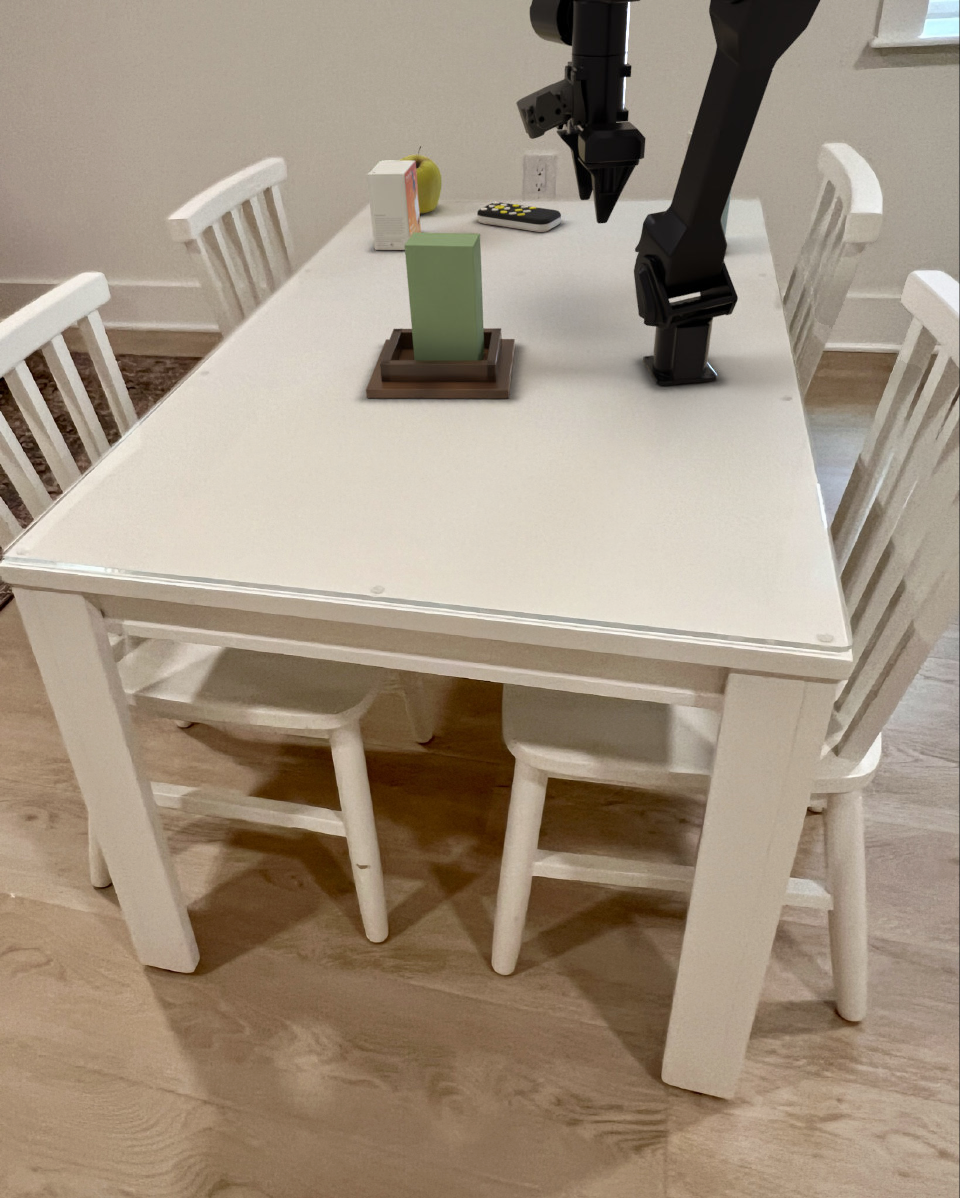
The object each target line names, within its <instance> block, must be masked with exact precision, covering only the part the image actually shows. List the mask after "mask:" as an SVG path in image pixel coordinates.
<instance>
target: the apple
mask: <svg viewBox="0 0 960 1198" xmlns="http://www.w3.org/2000/svg"><path fill="white" fill-rule="evenodd" d="M421 148H422V145H420V146H419V149H418V151H417V154H414V153H413V154H409V155H407V156H404V157H402V158H401V159H399V160H412V161H416V172H417V185H418V200H419V213H420V214H426V213H430V212H433V211H434V210H435V209H436V208H437V206H438V204H439V201H440V197H441V191H442V185H443V184H442V173H441V171H440V168H439V167H438V165H437V164H436V163H435V162H434V161H433V160H432V159H431V158H429V157H428V156H425V155H421V154H420V151H421Z"/></svg>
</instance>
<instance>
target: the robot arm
mask: <svg viewBox="0 0 960 1198" xmlns="http://www.w3.org/2000/svg"><path fill="white" fill-rule="evenodd" d="M640 1H641V0H531V4H530V6H529V21H530V24H531V28H532V29H533V31H534V33H535V34H536V35H537V36H538V37H539V38H540V39H542V40H544V41H547V42H552V43H555V44H560V45H564V46H568V47H571V61H567V65H565V66H564V77H563V79H561V80H558V81H557V82H554V83H551V84H548V85H546V86H544V87H543V88H541V89H538V90H536V91H534V92H532V93H530V94H528V95H526V96H523V97H522V98H520V99H518V100H517V101H516V103H515V104H516V107H517V110H518V113H519V116H520V119H521V122H522V125H523V127H524V128H523V129H524V130H525V133H526V134H527V135H528V137H529V139H531V140H534V139H537V138H540V137H542V136H544V135H545V134H546V133H547V132H548V131H550V130H552V129H556V134H557V135H558V136H559V138H560V139H561V140H562V141H563V142H564V143H565V144H566V146H568V147H569V149H570V154H571V158H572V163H573V168H574V169H573V170H574V174H575V180H576V185H577V190H578V196H579V199H580V200H581V201H589V200H590V199H591V197H592V195H593V202H594V213H595V220H596V223H597V224H606V223H608V221H609V219H610V218H611V215H612V213H613V211H614V209H615V207H616V205H617V203H618V200H619V199H620V196H621V194H622V192H623V191H624V188H625V187H626V185H627V183H628V181H629V180H630V178H631V175H632V173H633V171H634V170H635V168H636V167H637V166H638V165H639V164H640V161H641V160H642V159H644V158H645V153H646V152H645V151H646V150H645V149H646V137H645V136H644V135H643V134H642V132H641V131H640V130H639V129H638V127H636V126H635V125H634V124H632V122H630V121H629V114H630V110H629V109H628V108H627V107H625V99H626V98H625V96H626V83H627V81H626V80H627V78H631V77H632V67H633V66H632V65H631V64H630V63H628V50H629V49H628V47H629V32H630V31H629V28H630V15H631V12H630V11H631V3H636V2H640ZM820 2H821V0H710V2H709V8H708V14H709V19H710V23H711V27H712V31H713V35H714V38H715V39H714V40H715V43H716V44H715V45H716V49H715V54H714V56H713V57H714V58H713V62H712V64H711V67H710V71H709V74H708V77H707V81H706V84H705V88H704V90H703V94H702V97H701V100H700V101H701V102H700V105H699V107H698V111H697V115H696V119H695V122H694V125H693V128H692V129H693V132H692V135H691V139H690V142H689V145H688V149H687V152H686V151H685V152H686V156H685V155H684V159H683V162H682V165H683V166H682V165H681V167H682V169H681V168H680V173H679V176H678V180H677V182H676V183H677V184H676V187H675V190H674V194H673V197H672V200H671V203H670V205H669V206H668V208H667V209H666V210H663V211H658V212H654V213H652V212H651V213H648V214H647V215H646V217H645V219H644V221H643V222H642V228H641V233H640V238H639V241H638V244H637V245H636V246H635V248H634V252H635V253H637V255H636V259H635V263H634V268H633V279H634V286H635V287H634V288H635V294H636V295H635V296H636V303H637V312H638V316H639V317H640V318H641V319H643V325H645V326H646V327H653V328H655V333H654V343H653V355H645V356H643V357H642V363H643V365H644V366H645V368H646V370H648V373H649V374H650V376H651V378H652V379H653V381H654V383H655V384H656V385H658V386H669V385H681V384H693V383H705V382H714V381H717V379H718V374H717V372H715V369H713V368H712V366H711V364H709V362H708V360H709V351H710V343H711V337H712V329H713V322H714V318H718V317H722V316H730V315H732V314H733V312H734V310H735V307H736V306H737V302H738V301H739V297H738V294H737V291H736V288H735V286H734V284H733V281H732V278H731V275H730V272H729V270H728V267H727V265H726V262H725V257H726V253H727V248H728V241H727V237H726V234H724V230H723V226H722V223H721V218H722V214H723V211H724V208H725V205H726V202H727V199H728V197H729V194H730V191H731V192H732V189H731V188H733V185H734V182H735V179H736V177H737V173H738V171H739V167H740V165H741V162H742V159H743V156H744V154H745V150H746V148H747V145H748V142H749V140H750V136H751V134H752V131H753V127H754V125H755V123H756V122H755V121H756V119H757V117H758V113H759V111H760V108H761V105H762V103H763V99H764V97H765V93H766V90H767V87H768V85H769V83H770V82H769V81H770V79H771V76H772V73H773V71H774V67H775V65H776V64H777V62H778V61H779V59H780V58H781V57H782V56H783V55H784V54H785V53H786V52H787V50H789V49H790V48H791V46H792V45H793V44H794V43H795V42H796V40H797V39H798V38H799V37H800V36H801V35H802V34H803V33H804V32H805V30H807V28H808V26H809V25H810V23H811V20H812V18H813V17H814V15H815V12H816V10H817V9H818V7H819V4H820ZM697 293H699V295H698V296H694V297H690V298H689V297H688V298H685V299H680V300H676V301H671V302H670V300H672V299H676V298H679V297H684V296H689V295H693V294H697Z"/></svg>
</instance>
